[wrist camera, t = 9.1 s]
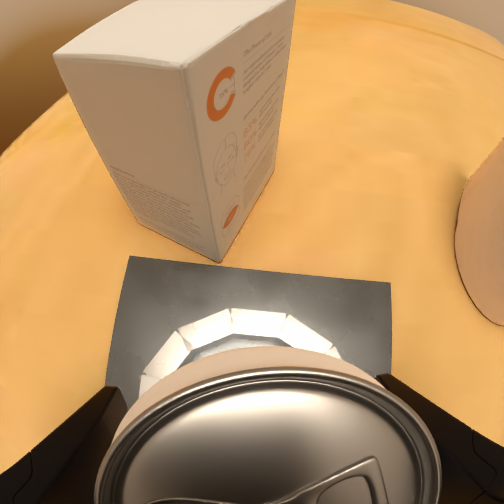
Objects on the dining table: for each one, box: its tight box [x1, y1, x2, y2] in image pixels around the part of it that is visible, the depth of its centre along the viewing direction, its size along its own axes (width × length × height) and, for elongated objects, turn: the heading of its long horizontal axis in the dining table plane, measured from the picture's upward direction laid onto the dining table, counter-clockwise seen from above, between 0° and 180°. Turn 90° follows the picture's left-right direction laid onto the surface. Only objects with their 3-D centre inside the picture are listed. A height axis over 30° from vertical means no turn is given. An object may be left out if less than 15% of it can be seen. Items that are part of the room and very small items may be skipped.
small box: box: [53, 0, 296, 263], centre depth 14 cm, size 8×6×13 cm
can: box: [94, 346, 442, 504], centre depth 8 cm, size 6×6×12 cm
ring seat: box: [105, 256, 392, 412], centre depth 13 cm, size 18×16×2 cm
